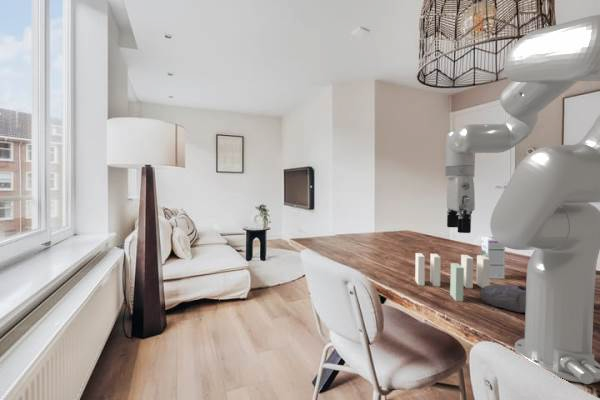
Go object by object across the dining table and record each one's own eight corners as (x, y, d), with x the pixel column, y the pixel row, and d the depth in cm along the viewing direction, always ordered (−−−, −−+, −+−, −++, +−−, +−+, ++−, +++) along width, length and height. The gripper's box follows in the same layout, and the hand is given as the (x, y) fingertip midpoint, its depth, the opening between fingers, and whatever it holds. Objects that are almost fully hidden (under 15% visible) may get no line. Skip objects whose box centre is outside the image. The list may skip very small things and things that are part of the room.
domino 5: (489, 289, 92) (490, 259, 92) (482, 288, 92) (483, 258, 92) (482, 284, 97) (483, 255, 96) (476, 283, 97) (476, 255, 97)
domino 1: (424, 285, 96) (424, 256, 95) (418, 285, 96) (418, 256, 96) (421, 280, 101) (421, 253, 100) (415, 280, 101) (415, 253, 101)
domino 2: (440, 286, 95) (440, 257, 94) (433, 286, 95) (434, 257, 95) (436, 281, 100) (436, 253, 99) (430, 281, 100) (430, 253, 100)
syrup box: (505, 279, 101) (506, 239, 101) (486, 278, 103) (487, 239, 102) (497, 274, 107) (498, 236, 106) (480, 273, 108) (481, 236, 107)
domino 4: (472, 288, 93) (473, 258, 92) (466, 287, 93) (466, 258, 93) (466, 283, 98) (467, 254, 97) (460, 282, 98) (461, 254, 98)
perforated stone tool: (478, 305, 80) (478, 281, 79) (480, 299, 84) (481, 277, 83) (548, 321, 70) (549, 294, 70) (547, 313, 74) (548, 288, 74)
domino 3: (463, 301, 83) (463, 268, 82) (455, 301, 83) (456, 267, 83) (457, 295, 88) (457, 263, 87) (450, 294, 88) (450, 263, 87)
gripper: (486, 171, 74) (484, 235, 75) (462, 173, 91) (461, 225, 92) (455, 172, 76) (454, 234, 77) (437, 173, 92) (436, 225, 94)
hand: (458, 229), depth 84 cm, fingers open, 9 cm apart
